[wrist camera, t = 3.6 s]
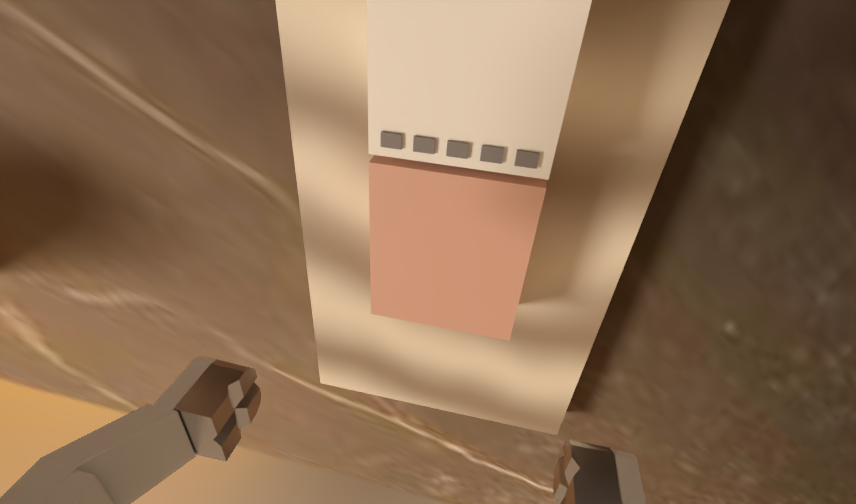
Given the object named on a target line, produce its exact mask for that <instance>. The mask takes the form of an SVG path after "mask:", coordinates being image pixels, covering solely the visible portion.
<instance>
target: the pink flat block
mask: <svg viewBox="0 0 856 504" xmlns="http://www.w3.org/2000/svg"><path fill="white" fill-rule="evenodd" d="M545 192H546V179H539V178H532V177H525V176H518V175H511V174H505V173H498V172H491V171H484V170H477V169H470V168H463V167H456V166H449V165H442V164H435V163H428V162H421V161H414V160H407V159H400V158H393V157H386V156H379V155H374V156H373V158H372V159H371V160H370V161H369V219H370V289H371V314H375V315H380V316H385V317H390V318H395V319H400V320H405V321H410V322H416V323H421V324H426V325H431V326H436V327H441V328H446V329H452V330H457V331H462V332H467V333H472V334H477V335H482V336H488V337H493V338H498V339H503V340H508V341H510V337H511V333H512V329H513V324H514V320H515V316H516V312H517V308H518V304H519V300H520V296H521V291H522V287H523V283H524V279H525V275H526V271H527V267H528V263H529V258H530V254H531V250H532V246H533V242H534V238H535V234H536V229H537V225H538V221H539V217H540V213H541V209H542V205H543V201H544V196H545Z"/></svg>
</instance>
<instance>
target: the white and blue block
mask: <svg viewBox="0 0 856 504" xmlns="http://www.w3.org/2000/svg"><path fill="white" fill-rule="evenodd" d="M591 2H592V0H366V10H367V80H368V150H369V154H372V155H379V156H386V157H393V158H400V159H407V160H414V161H421V162H428V163H435V164H442V165H449V166H456V167H463V168H470V169H477V170H484V171H491V172H498V173H505V174H511V175H518V176H525V177H532V178H539V179H546V180H549V176H550V172H551V167H552V163H553V159H554V155H555V151H556V147H557V143H558V139H559V134H560V130H561V126H562V122H563V118H564V114H565V110H566V106H567V101H568V97H569V93H570V89H571V85H572V81H573V77H574V72H575V68H576V64H577V60H578V56H579V52H580V48H581V44H582V39H583V35H584V31H585V27H586V23H587V19H588V15H589V11H590V6H591Z"/></svg>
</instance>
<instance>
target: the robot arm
mask: <svg viewBox="0 0 856 504" xmlns="http://www.w3.org/2000/svg"><path fill="white" fill-rule="evenodd" d="M256 378H257V375H256V371H255V369H254V368H250V367H245V366H241V365H237V364H233V363H229V362H225V361H221V360H217V359H213V358H208V357H204V356H199V357H197V358H196V359H194V360H193V361H192V362H191V363H190V364H189V365H188V366H187V367H186V369H185V370H184V371H183V372H182V373H181V374H180V375H179V377H178V378H177V379H176V380H175V381H174V382H173V383H172V384H171V386H170V387H169V388H168V389H167V390H166V391H165V392H164V393H163V395H162V396H161V397H160V398H159V399H158V400H157V401H156V403H155V404H154V405H151V404H147V405H145V406H143V407H141V408H139V409H137V410H135V411H133V412H131V413H129V414H127V415H125V416H123V417H121V418H119V419H117V420H115V421H113V422H111V423H109V424H107V425H105V426H103V427H101V428H99V429H97V430H95V431H93V432H91V433H90V434H87V435H86V436H83V437H81V438H79V439H77V440H75V441H74V442H71V443H70V444H67V445H66V446H64V447H61V448H59V449H57V450H56V451H54V452H52V453H50V454H48V455H46V456H44V457H42V458H40V459H39V460H38V461H37V462H36V463H35V464H34V465H33V466H32V467H31V468H30V469H29V470H28V471H27V472H26V473H25V474H24V475H23V476H22V477H21V478H20V479H19V480H18V481H17V482H16V483H15V484H14V485H13V486H12V487H11V488H10V489H9V490H8V491H7V492H6V493H5V494H4V495H3V496H2V497H1V498H0V504H131V503H132V502H134V501H135V500H136V499H138V498H139V497H140V496H142V495H143V494H145V493H146V492H147V491H149V490H150V489H151V488H153V487H154V486H156V485H157V484H158V483H160V482H161V481H163V480H164V479H165V478H166V477H168V476H169V475H171V474H172V473H174V472H175V471H176V470H178V469H179V468H180V467H182V466H183V465H185V464H186V463H187V462H189V461H190V460H191V459H193V458H194V457H195V456H196V455H195V454H197V455H201V456H205V457H210V458H214V459H218V460H223V461H227V460H228V458H229V456H230V455H231V453H232V452H233V450H234V449H235V447H236V445H237V444H238V442H239V441H240V439H241V430H240V429H242V428H243V427H245V426H247V425H248V424H250V423H251V422H252V420H253V418H254V417H255V415H256V413H257V411H258V408H259V405H260V401H261V392H260V388H259V387H258V386H257V385H256V384H255V383H254V381H255V380H256ZM563 450H564V456H562V457H559V459H558V462H557V464H556V468H555V474H554V485H553V490H554V499H555V500H556V502H557V504H646V500H645V495H644V490H643V485H642V481H641V476H640V471H639V466H638V461H637V458H636V457H635V455H634V454H632V453H629V452H624V451H619V450H614V449H610V448H609V447H604V446H599V445H594V444H590V443H585V442H580V441H575V440H570V439H568V440H567V441H566V442H565V445H564V447H563Z"/></svg>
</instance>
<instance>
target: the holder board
mask: <svg viewBox="0 0 856 504" xmlns="http://www.w3.org/2000/svg"><path fill="white" fill-rule="evenodd" d="M729 2H730V0H592V2H591V6H590V11H589V15H588V19H587V23H586V27H585V31H584V35H583V39H582V44H581V48H580V52H579V56H578V60H577V64H576V68H575V72H574V77H573V81H572V85H571V89H570V93H569V97H568V101H567V106H566V110H565V114H564V118H563V122H562V126H561V130H560V134H559V139H558V143H557V147H556V151H555V155H554V159H553V163H552V167H551V172H550V176H549V180H546V192H545V196H544V201H543V205H542V209H541V213H540V217H539V221H538V225H537V229H536V234H535V238H534V242H533V246H532V250H531V254H530V258H529V263H528V267H527V271H526V275H525V279H524V283H523V287H522V291H521V296H520V300H519V304H518V308H517V312H516V316H515V320H514V324H513V329H512V333H511V337H510V341H508V340H503V339H498V338H493V337H488V336H482V335H477V334H472V333H467V332H462V331H457V330H452V329H446V328H441V327H436V326H431V325H426V324H421V323H416V322H410V321H405V320H400V319H395V318H390V317H385V316H380V315H375V314H371V289H370V219H369V161H370V160H371V159H372V158H373V156H374V155H372V154H369V150H368V80H367V10H366V0H276V9H277V17H278V26H279V34H280V43H281V51H282V60H283V68H284V77H285V85H286V94H287V102H288V111H289V119H290V128H291V136H292V145H293V153H294V162H295V170H296V179H297V187H298V196H299V204H300V213H301V221H302V230H303V238H304V247H305V255H306V264H307V272H308V281H309V289H310V298H311V306H312V315H313V323H314V332H315V340H316V349H317V357H318V366H319V374H320V383H323V384H327V385H332V386H336V387H341V388H345V389H350V390H354V391H359V392H364V393H368V394H373V395H377V396H382V397H386V398H391V399H395V400H400V401H404V402H409V403H414V404H418V405H423V406H427V407H432V408H436V409H441V410H445V411H450V412H454V413H459V414H464V415H468V416H473V417H477V418H482V419H486V420H491V421H495V422H500V423H504V424H509V425H514V426H518V427H523V428H527V429H532V430H536V431H541V432H545V433H550V434H554V435H557V433H558V431H559V428H560V426H561V423H562V421H563V418H564V416H565V413H566V411H567V408H568V406H569V403H570V401H571V398H572V396H573V393H574V391H575V388H576V386H577V383H578V381H579V378H580V376H581V373H582V371H583V368H584V366H585V363H586V361H587V358H588V356H589V353H590V350H591V348H592V345H593V343H594V340H595V338H596V335H597V333H598V330H599V328H600V325H601V323H602V320H603V318H604V315H605V313H606V310H607V308H608V305H609V303H610V300H611V298H612V295H613V293H614V290H615V288H616V285H617V283H618V280H619V278H620V275H621V273H622V270H623V268H624V265H625V263H626V260H627V258H628V255H629V253H630V250H631V248H632V245H633V243H634V240H635V238H636V235H637V233H638V230H639V228H640V225H641V223H642V220H643V218H644V215H645V213H646V210H647V208H648V205H649V203H650V200H651V198H652V195H653V193H654V190H655V188H656V185H657V183H658V180H659V178H660V175H661V173H662V170H663V168H664V165H665V163H666V160H667V158H668V155H669V153H670V150H671V148H672V145H673V143H674V140H675V138H676V135H677V133H678V130H679V128H680V125H681V123H682V120H683V118H684V115H685V113H686V110H687V108H688V105H689V103H690V100H691V98H692V95H693V93H694V90H695V88H696V85H697V83H698V80H699V78H700V75H701V73H702V70H703V68H704V65H705V63H706V60H707V58H708V55H709V53H710V50H711V47H712V45H713V42H714V40H715V37H716V35H717V32H718V30H719V27H720V25H721V22H722V20H723V17H724V15H725V12H726V10H727V7H728V5H729Z"/></svg>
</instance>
